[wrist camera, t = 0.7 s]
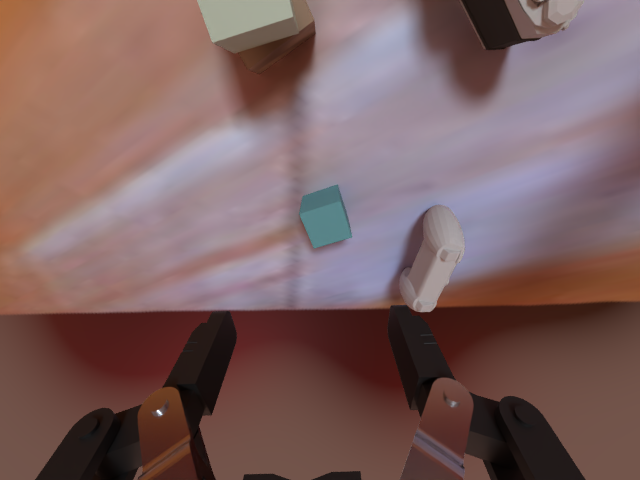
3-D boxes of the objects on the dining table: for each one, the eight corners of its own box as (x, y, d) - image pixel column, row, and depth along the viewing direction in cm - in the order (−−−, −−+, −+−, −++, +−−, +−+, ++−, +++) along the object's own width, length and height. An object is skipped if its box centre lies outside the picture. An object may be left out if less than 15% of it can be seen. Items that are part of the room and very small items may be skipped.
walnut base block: (276, -55, 22) (265, -92, 17) (315, 33, 25) (314, 20, 21) (216, -3, 24) (193, -25, 19) (259, 74, 27) (247, 69, 22)
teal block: (337, 184, 33) (340, 200, 27) (347, 216, 35) (352, 237, 30) (302, 196, 34) (299, 214, 28) (315, 226, 36) (313, 248, 31)
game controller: (412, 280, 41) (437, 329, 32) (387, 277, 41) (404, 326, 32) (448, 200, 34) (492, 236, 25) (418, 195, 33) (451, 230, 25)
